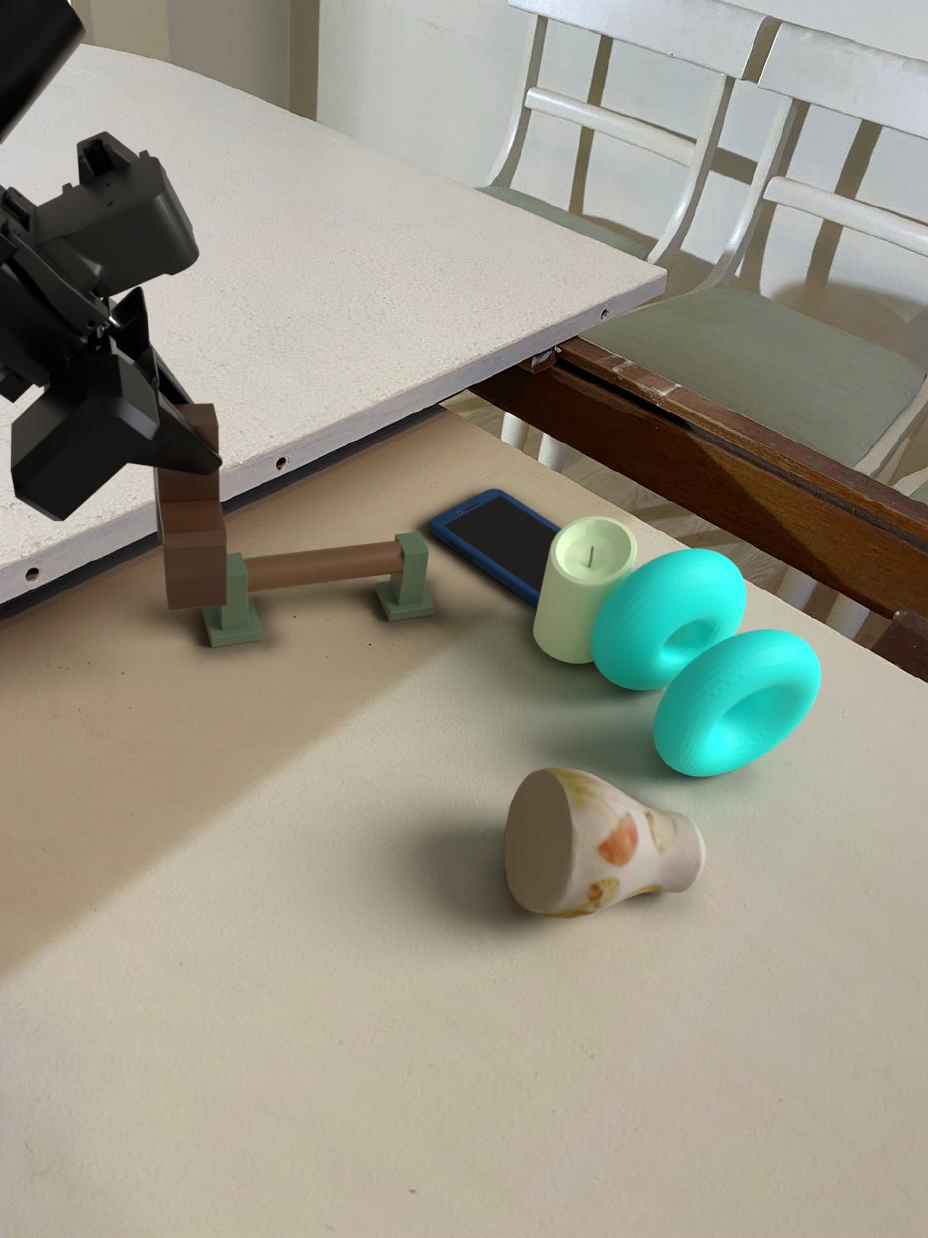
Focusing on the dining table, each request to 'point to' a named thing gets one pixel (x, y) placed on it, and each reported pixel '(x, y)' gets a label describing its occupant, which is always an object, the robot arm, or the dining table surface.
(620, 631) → the donuts
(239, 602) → the stand
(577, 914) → the flowered bud vase
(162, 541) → the brown stepped block
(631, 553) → the candle
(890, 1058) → the dining table surface
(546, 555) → the cell phone
